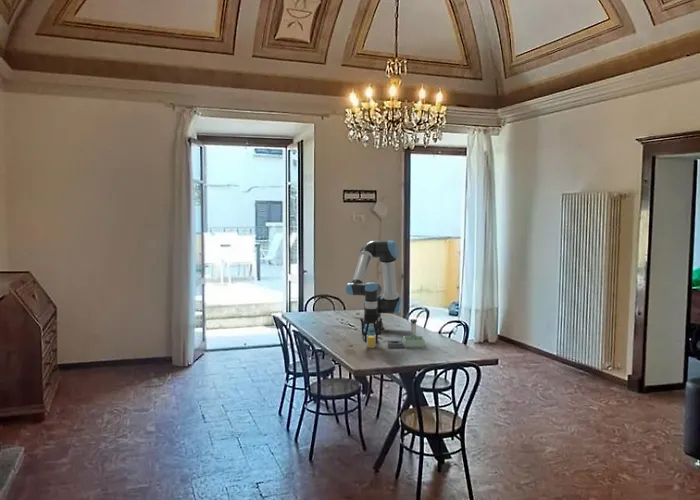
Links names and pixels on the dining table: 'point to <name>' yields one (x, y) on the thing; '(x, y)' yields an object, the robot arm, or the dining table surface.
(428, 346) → the dining table surface
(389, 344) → the pin holder
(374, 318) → the robot arm
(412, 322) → the stop pin
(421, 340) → the tray
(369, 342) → the chock
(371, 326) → the toy excavator
